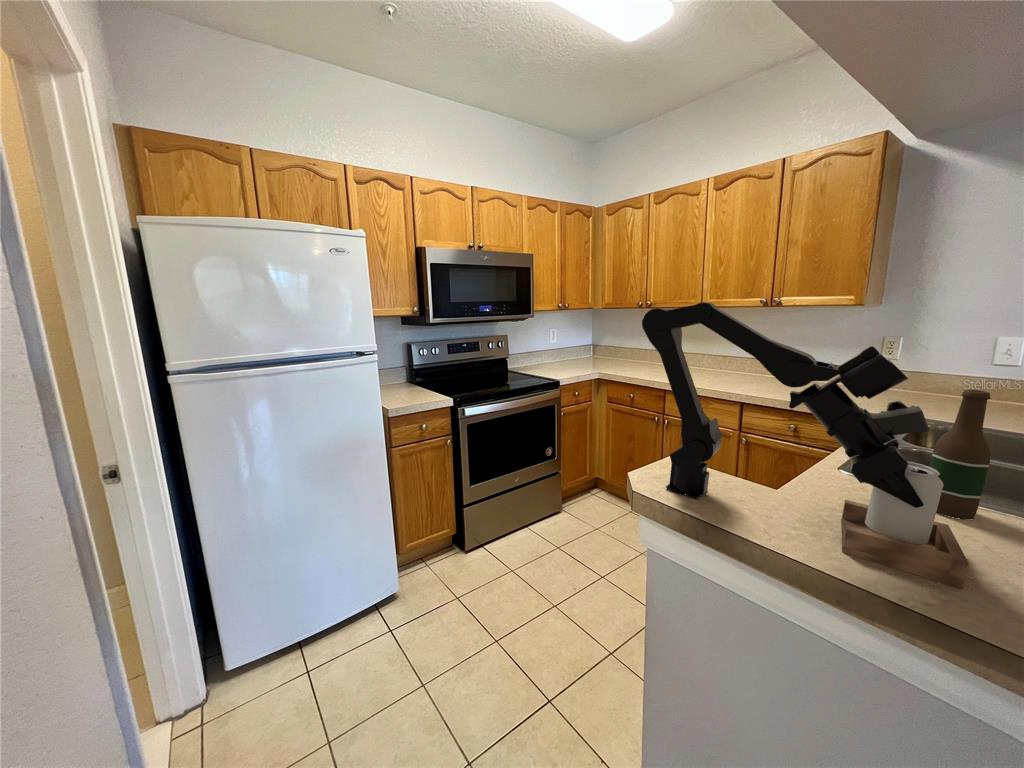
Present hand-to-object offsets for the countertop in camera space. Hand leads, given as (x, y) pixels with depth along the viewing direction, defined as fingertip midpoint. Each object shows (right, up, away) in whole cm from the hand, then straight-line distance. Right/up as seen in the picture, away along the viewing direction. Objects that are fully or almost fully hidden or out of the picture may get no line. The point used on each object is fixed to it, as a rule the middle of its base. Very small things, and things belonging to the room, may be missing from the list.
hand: (916, 497), depth 62 cm
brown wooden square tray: (-1, -9, +3) cm, 10 cm away
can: (-1, -7, +2) cm, 7 cm away
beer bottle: (+22, -7, +16) cm, 29 cm away
